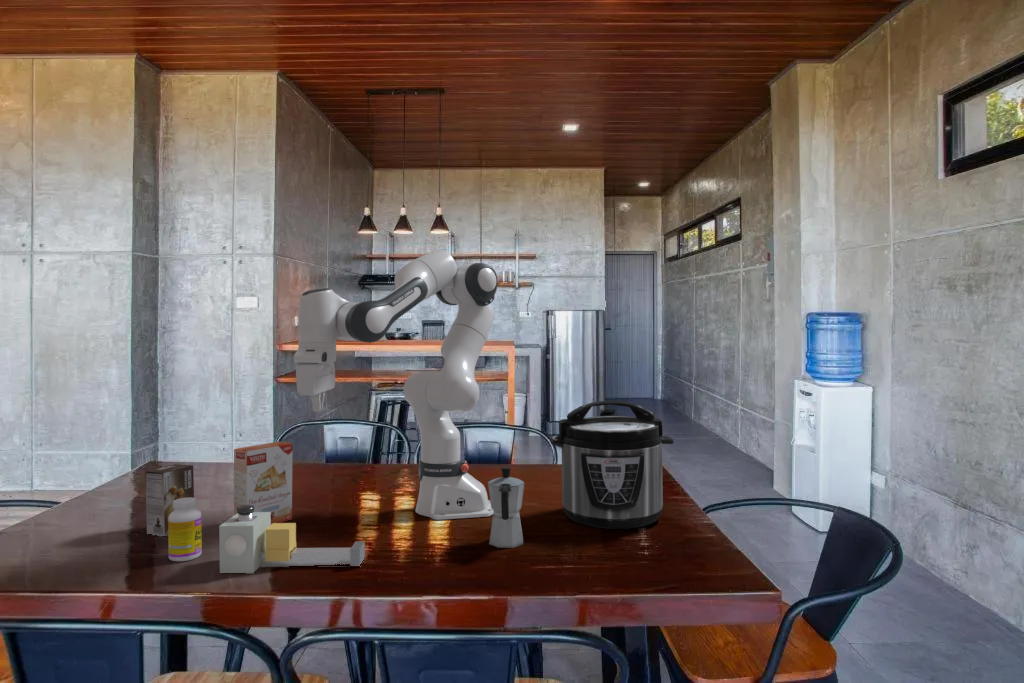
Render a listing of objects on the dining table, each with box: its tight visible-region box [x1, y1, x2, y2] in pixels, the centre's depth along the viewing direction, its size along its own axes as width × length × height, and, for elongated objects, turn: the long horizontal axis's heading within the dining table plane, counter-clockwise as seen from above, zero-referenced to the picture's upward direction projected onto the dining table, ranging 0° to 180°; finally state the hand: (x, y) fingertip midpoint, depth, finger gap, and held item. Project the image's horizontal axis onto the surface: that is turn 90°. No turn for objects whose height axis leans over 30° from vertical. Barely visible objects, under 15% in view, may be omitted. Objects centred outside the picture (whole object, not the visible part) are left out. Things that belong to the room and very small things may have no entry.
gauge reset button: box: [237, 505, 254, 521], centre depth 135 cm, size 3×3×7 cm
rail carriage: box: [265, 522, 297, 561], centre depth 135 cm, size 5×5×7 cm
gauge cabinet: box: [218, 512, 271, 574], centre depth 135 cm, size 7×11×10 cm, turn 1°
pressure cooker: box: [549, 400, 674, 530], centre depth 169 cm, size 30×28×32 cm
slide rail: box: [260, 540, 366, 568], centre depth 136 cm, size 22×5×4 cm, turn 91°
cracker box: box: [233, 441, 293, 524], centre depth 163 cm, size 14×6×21 cm, turn 148°
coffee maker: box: [487, 466, 525, 549], centre depth 148 cm, size 15×9×18 cm, turn 178°
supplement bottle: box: [167, 497, 203, 562], centre depth 140 cm, size 7×7×13 cm
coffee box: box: [145, 463, 195, 537], centre depth 158 cm, size 9×6×16 cm
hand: (317, 410), depth 153 cm, fingers closed
